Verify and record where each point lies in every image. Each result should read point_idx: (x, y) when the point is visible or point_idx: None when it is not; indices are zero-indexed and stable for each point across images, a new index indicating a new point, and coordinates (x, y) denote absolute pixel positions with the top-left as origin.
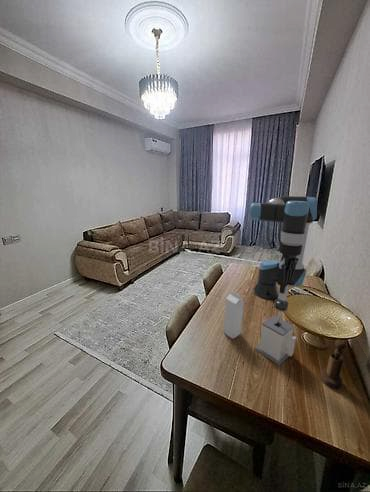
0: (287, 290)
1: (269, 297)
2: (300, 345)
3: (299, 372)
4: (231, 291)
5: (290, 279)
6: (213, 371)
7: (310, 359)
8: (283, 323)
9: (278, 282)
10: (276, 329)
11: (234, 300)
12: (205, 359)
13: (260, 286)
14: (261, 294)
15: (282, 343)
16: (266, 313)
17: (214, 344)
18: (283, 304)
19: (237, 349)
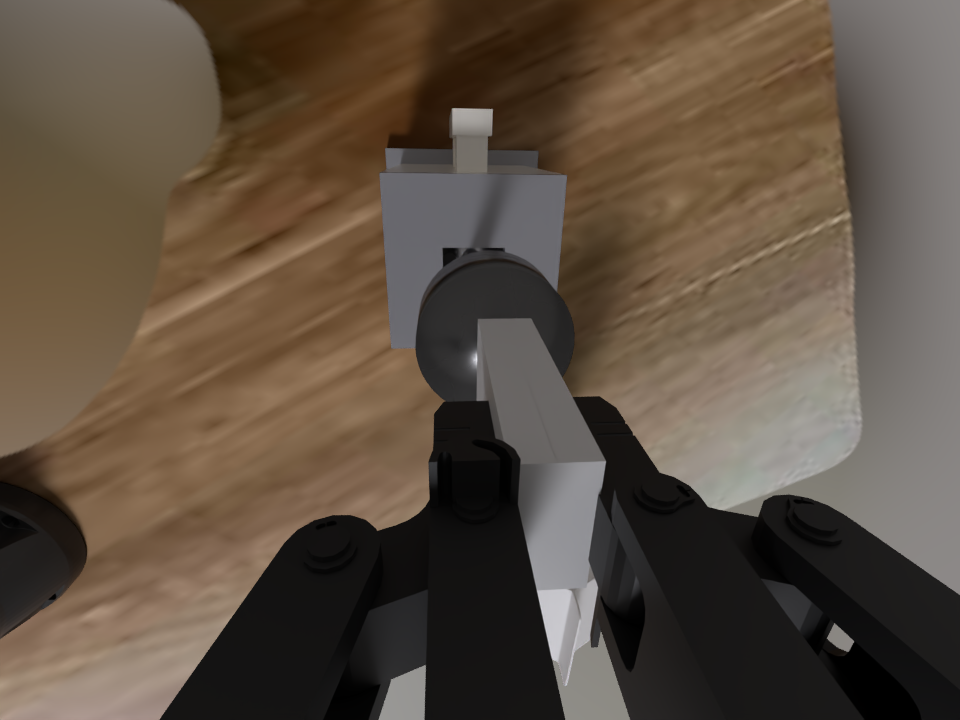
0: (509, 396)
1: (23, 502)
2: (277, 140)
3: (496, 47)
4: (566, 678)
5: (368, 603)
6: (770, 333)
7: (342, 40)
8: (425, 244)
9: (846, 657)
10: (544, 243)
11: (596, 594)
12: (736, 393)
13: (14, 605)
14: (60, 546)
15: (536, 170)
16: (193, 422)
17: (637, 426)
18: (532, 305)
19: (590, 348)
